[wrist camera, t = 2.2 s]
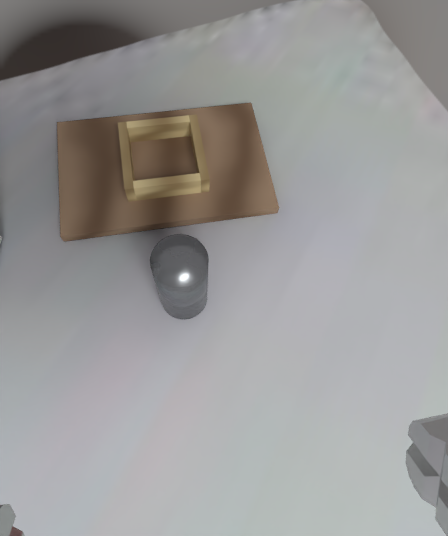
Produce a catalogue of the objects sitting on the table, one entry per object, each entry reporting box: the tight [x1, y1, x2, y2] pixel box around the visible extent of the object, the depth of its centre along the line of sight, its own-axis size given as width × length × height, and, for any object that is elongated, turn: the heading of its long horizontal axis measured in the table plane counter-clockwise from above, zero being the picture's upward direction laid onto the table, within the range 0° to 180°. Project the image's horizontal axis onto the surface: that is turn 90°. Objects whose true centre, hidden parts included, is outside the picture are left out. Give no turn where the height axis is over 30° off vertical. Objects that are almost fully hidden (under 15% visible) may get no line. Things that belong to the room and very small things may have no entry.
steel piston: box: [150, 234, 208, 319], centre depth 32 cm, size 4×4×8 cm
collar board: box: [57, 103, 279, 241], centre depth 39 cm, size 20×13×3 cm, turn 100°
